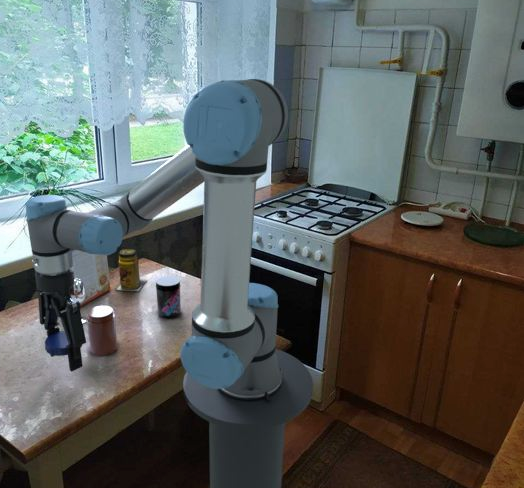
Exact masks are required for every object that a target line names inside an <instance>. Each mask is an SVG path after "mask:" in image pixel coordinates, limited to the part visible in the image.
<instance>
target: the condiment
mask: <svg viewBox="0 0 524 488" xmlns="http://www.w3.org/2000/svg"><path fill="white" fill-rule="evenodd" d="M139 264H140V263H139V258H138V255H137V250H135V249H131V248H125V249H122V250H120V251H119V252H118V272H119V286H117V288H116V289H115V290H116V291H124V292H140V290H141V289H142V288H143V286H144V285H145V283H146V282H147V279H141V278H140V266H139Z"/></svg>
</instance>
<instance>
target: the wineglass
mask: <svg viewBox="0 0 524 488" xmlns="http://www.w3.org/2000/svg"><path fill="white" fill-rule="evenodd" d="M74 279H75V283H74V285H73V286H72V287H71V289H70V294H71V297H72V301H74V302H77V301H79V302H82V301H83V300H84V298H85V295H86V292H85V287H84V284H83V282H82V280H81V279H79V278H74ZM81 318H82V323H83V324H85V323H87V317H84V316H81Z"/></svg>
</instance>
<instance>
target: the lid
mask: <svg viewBox="0 0 524 488" xmlns="http://www.w3.org/2000/svg"><path fill="white" fill-rule="evenodd" d="M68 344H69V343H68V340H67V337H66V334H65V331H64V330H60V331H59V332H56V333H53V334H51V335H50V336H48V337H46V338H45V339H44V348H45V349H44V350H45V352H46V353H47V354H48V355H49V356H50V355H54V356H53V357H63V356H68V353H67V348H66V345H68ZM83 345H84V344H82V345H80V348H82V347H83Z"/></svg>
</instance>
